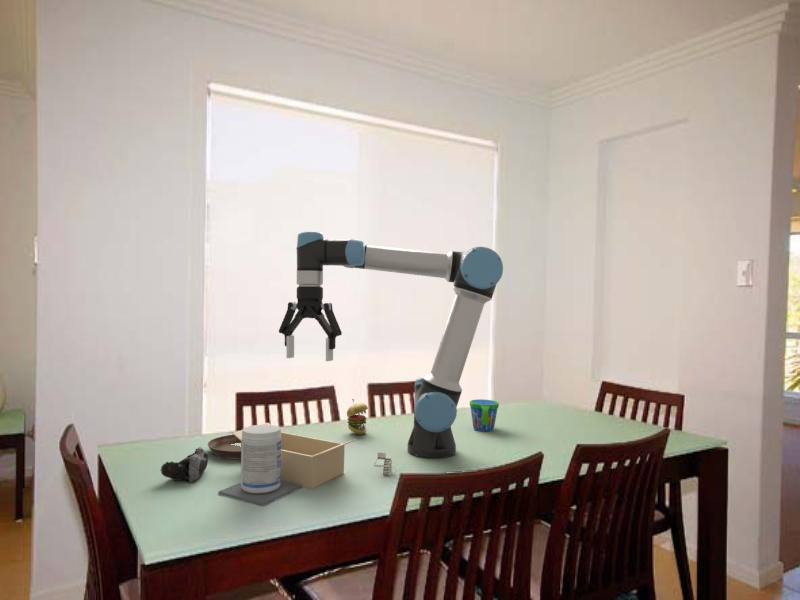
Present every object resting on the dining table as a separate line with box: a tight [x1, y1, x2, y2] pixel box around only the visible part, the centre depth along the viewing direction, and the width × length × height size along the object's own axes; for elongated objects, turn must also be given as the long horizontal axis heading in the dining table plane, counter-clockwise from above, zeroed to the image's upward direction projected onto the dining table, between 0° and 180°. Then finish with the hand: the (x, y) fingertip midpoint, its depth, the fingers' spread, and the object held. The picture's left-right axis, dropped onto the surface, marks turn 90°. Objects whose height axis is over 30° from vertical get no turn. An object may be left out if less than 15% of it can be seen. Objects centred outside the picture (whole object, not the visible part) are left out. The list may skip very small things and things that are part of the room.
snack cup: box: [469, 398, 500, 432], centre depth 206 cm, size 16×10×10 cm
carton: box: [231, 422, 358, 489], centre depth 152 cm, size 32×14×10 cm, turn 62°
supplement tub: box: [240, 424, 282, 494], centre depth 138 cm, size 10×10×15 cm
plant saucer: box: [207, 434, 241, 460], centre depth 171 cm, size 21×21×3 cm
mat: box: [218, 480, 302, 507], centre depth 138 cm, size 14×14×1 cm
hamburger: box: [346, 398, 368, 435], centre depth 195 cm, size 8×7×12 cm
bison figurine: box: [159, 446, 209, 483], centre depth 147 cm, size 12×7×10 cm
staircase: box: [373, 452, 393, 477], centre depth 153 cm, size 6×4×6 cm, turn 174°
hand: (309, 359), depth 163 cm, fingers open, 13 cm apart
